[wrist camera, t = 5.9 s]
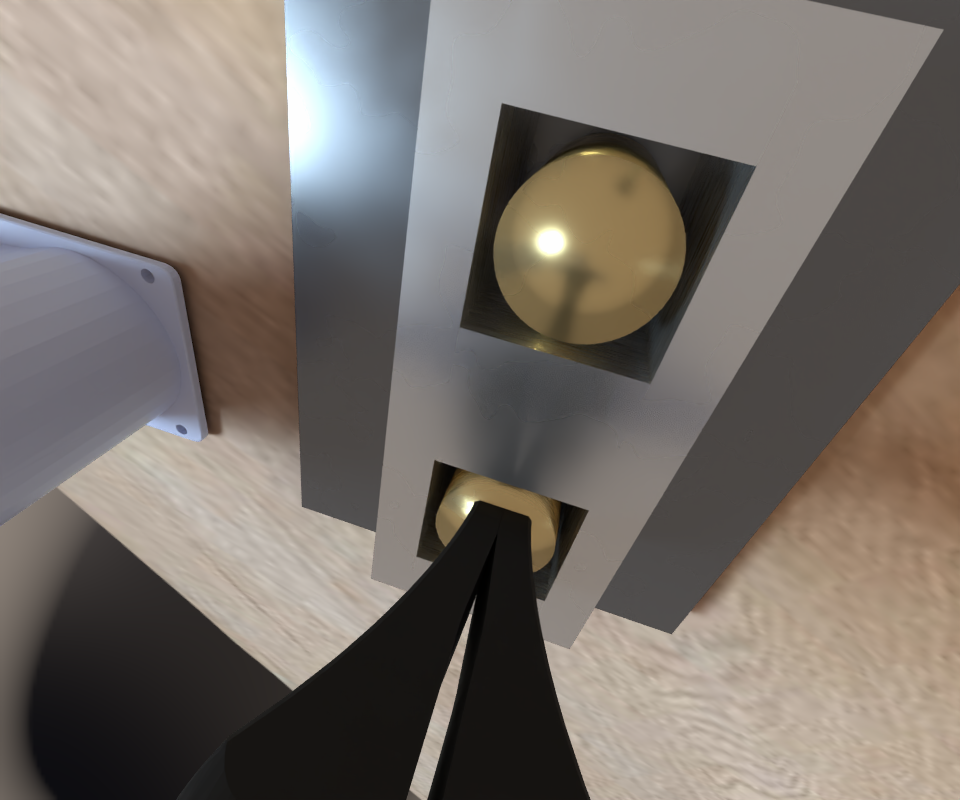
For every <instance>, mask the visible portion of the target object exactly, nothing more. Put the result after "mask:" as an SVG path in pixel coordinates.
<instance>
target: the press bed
mask: <svg viewBox="0 0 960 800" xmlns="http://www.w3.org/2000/svg"><path fill="white" fill-rule="evenodd" d="M808 1H813V2H817V3H822V4H827V5H831V6H836V7H841V8H845V9H850V10H855V11H859V12H864V13H869V14H873V15H878V16H883V17H887V18H892V19H897V20H901V21H906V22H911V23H915V24H920V25H925V26H929V27H934V28H939V29H943V32H942V33H941V35H940V37H939V38H938V40H937V42H936V43H935V45H934V47H933V48H932V50H931V52H930V53H929V55H928V57H927V58H926V60H925V62H924V63H923V65H922V67H921V68H920V70H919V72H918V73H917V75H916V77H915V78H914V80H913V81H912V83H911V85H910V86H909V88H908V90H907V91H906V93H905V95H904V96H903V98H902V100H901V101H900V103H899V105H898V106H897V108H896V110H895V111H894V113H893V115H892V116H891V118H890V120H889V121H888V123H887V125H886V126H885V128H884V129H883V131H882V133H881V134H880V136H879V138H878V139H877V141H876V143H875V144H874V146H873V148H872V149H871V151H870V153H869V154H868V156H867V158H866V159H865V161H864V163H863V164H862V166H861V168H860V169H859V171H858V173H857V174H856V176H855V177H854V179H853V181H852V182H851V184H850V186H849V187H848V189H847V191H846V192H845V194H844V196H843V197H842V199H841V201H840V202H839V204H838V206H837V207H836V209H835V211H834V212H833V214H832V216H831V217H830V219H829V221H828V222H827V224H826V225H825V227H824V229H823V230H822V232H821V234H820V235H819V237H818V239H817V240H816V242H815V244H814V245H813V247H812V249H811V250H810V252H809V254H808V255H807V257H806V259H805V260H804V262H803V264H802V265H801V267H800V269H799V270H798V272H797V273H796V275H795V277H794V278H793V280H792V282H791V283H790V285H789V287H788V288H787V290H786V292H785V293H784V295H783V297H782V298H781V300H780V302H779V303H778V305H777V307H776V308H775V310H774V312H773V313H772V315H771V316H770V318H769V320H768V321H767V323H766V325H765V326H764V328H763V330H762V331H761V333H760V335H759V336H758V338H757V340H756V341H755V343H754V345H753V346H752V348H751V350H750V351H749V353H748V355H747V356H746V358H745V360H744V361H743V363H742V364H741V366H740V368H739V369H738V371H737V373H736V374H735V376H734V378H733V379H732V381H731V383H730V384H729V386H728V388H727V389H726V391H725V393H724V394H723V396H722V398H721V399H720V401H719V403H718V404H717V406H716V408H715V409H714V411H713V412H712V414H711V416H710V417H709V419H708V421H707V422H706V424H705V426H704V427H703V429H702V431H701V432H700V434H699V436H698V437H697V439H696V441H695V442H694V444H693V446H692V447H691V449H690V451H689V452H688V454H687V456H686V457H685V459H684V460H683V462H682V464H681V465H680V467H679V469H678V470H677V472H676V474H675V475H674V477H673V479H672V480H671V482H670V484H669V485H668V487H667V489H666V490H665V492H664V494H663V495H662V497H661V499H660V500H659V502H658V504H657V505H656V507H655V508H654V510H653V512H652V513H651V515H650V517H649V518H648V520H647V522H646V523H645V525H644V527H643V528H642V530H641V532H640V533H639V535H638V537H637V538H636V540H635V542H634V543H633V545H632V547H631V548H630V550H629V552H628V553H627V555H626V556H625V558H624V560H623V561H622V563H621V565H620V566H619V568H618V570H617V571H616V573H615V575H614V576H613V578H612V580H611V581H610V583H609V585H608V586H607V588H606V590H605V591H604V593H603V595H602V596H601V598H600V600H599V601H598V603H597V604H596V606H595V608H597V609H600V610H603V611H606V612H609V613H612V614H615V615H617V616H620V617H623V618H626V619H629V620H632V621H635V622H638V623H641V624H644V625H646V626H649V627H652V628H655V629H658V630H661V631H664V632H667V633H670V634H672V633H673V632H674V631H675V629H676V628H677V627H678V626H679V625H680V623H681V622H682V621H683V620H684V619H685V617H686V616H687V615H688V614H689V612H690V611H691V610H692V609H693V608H694V606H695V605H696V604H697V603H698V602H699V600H700V599H701V598H702V597H703V595H704V594H705V593H706V592H707V591H708V589H709V588H710V587H711V586H712V585H713V583H714V582H715V581H716V580H717V578H718V577H719V576H720V575H721V574H722V572H723V571H724V570H725V569H726V568H727V566H728V565H729V564H730V563H731V561H732V560H733V559H734V558H735V557H736V555H737V554H738V553H739V552H740V550H741V549H742V548H743V547H744V546H745V544H746V543H747V542H748V541H749V540H750V538H751V537H752V536H753V535H754V533H755V532H756V531H757V530H758V529H759V527H760V526H761V525H762V524H763V523H764V521H765V520H766V519H767V518H768V516H769V515H770V514H771V513H772V512H773V510H774V509H775V508H776V507H777V506H778V504H779V503H780V502H781V501H782V499H783V498H784V497H785V496H786V495H787V493H788V492H789V491H790V490H791V489H792V487H793V486H794V485H795V484H796V482H797V481H798V480H799V479H800V478H801V476H802V475H803V474H804V473H805V471H806V470H807V469H808V468H809V467H810V465H811V464H812V463H813V462H814V461H815V459H816V458H817V457H818V456H819V454H820V453H821V452H822V451H823V450H824V448H825V447H826V446H827V445H828V444H829V442H830V441H831V440H832V439H833V437H834V436H835V435H836V434H837V433H838V431H839V430H840V429H841V428H842V427H843V425H844V424H845V423H846V422H847V420H848V419H849V418H850V417H851V416H852V414H853V413H854V412H855V411H856V410H857V408H858V407H859V406H860V405H861V403H862V402H863V401H864V400H865V399H866V397H867V396H868V395H869V394H870V393H871V391H872V390H873V389H874V388H875V386H876V385H877V384H878V383H879V382H880V380H881V379H882V378H883V377H884V375H885V374H886V373H887V372H888V371H889V369H890V368H891V367H892V366H893V365H894V363H895V362H896V361H897V360H898V358H899V357H900V356H901V355H902V354H903V352H904V351H905V350H906V349H907V348H908V346H909V345H910V344H911V343H912V341H913V340H914V339H915V338H916V337H917V335H918V334H919V333H920V332H921V331H922V329H923V328H924V327H925V326H926V324H927V323H928V322H929V321H930V320H931V318H932V317H933V316H934V315H935V314H936V312H937V311H938V310H939V309H940V307H941V306H942V305H943V304H944V303H945V301H946V300H947V299H948V298H949V297H950V295H951V294H952V293H953V292H954V290H955V289H956V288H957V287H958V286H959V284H960V0H808ZM284 2H285V31H286V59H287V88H288V117H289V146H290V174H291V203H292V232H293V261H294V289H295V318H296V347H297V376H298V405H299V433H300V462H301V491H302V507H305V508H308V509H310V510H313V511H316V512H319V513H322V514H325V515H328V516H331V517H334V518H337V519H339V520H342V521H345V522H348V523H351V524H354V525H357V526H360V527H363V528H365V529H368V530H371V531H374V532H376V526H377V517H378V507H379V497H380V488H381V478H382V468H383V459H384V449H385V439H386V430H387V420H388V410H389V401H390V391H391V381H392V372H393V362H394V352H395V343H396V333H397V323H398V314H399V304H400V294H401V285H402V275H403V265H404V256H405V246H406V236H407V227H408V217H409V207H410V198H411V188H412V178H413V169H414V159H415V149H416V140H417V130H418V120H419V111H420V101H421V91H422V82H423V72H424V62H425V53H426V43H427V33H428V24H429V14H430V4H431V0H284ZM598 133H612V134H618V135H622V136H625V137H628V138H630V139H632V140H634V141H636V142H637V143H639V144H640V145H641V146H643V147H644V148H645V149H646V150H647V151H648V152H649V153H650V154H651V156H652V157H653V158H654V160H655V161H656V163H657V165H658V167H659V169H660V171H661V173H662V175H663V177H664V179H665V181H666V183H667V185H668V188H669V190H670V192H671V194H672V196H673V198H674V200H675V202H676V204H677V206H678V208H679V207H680V204H681V202H682V199H683V197H684V195H685V192H686V190H687V187H688V185H689V183H690V180H691V178H692V176H693V173H694V171H695V168H696V166H697V164H698V161H699V159H700V156H701V154H702V153H701V152H697V151H693V150H689V149H684V148H680V147H676V146H672V145H668V144H664V143H660V142H656V141H652V140H648V139H644V138H640V137H636V136H632V135H628V134H624V133H620V132H616V131H612V130H608V129H604V128H600V127H596V126H592V125H588V124H584V123H580V122H576V121H572V120H568V119H564V118H560V117H556V116H552V115H548V114H544V113H541V115H540V119H539V123H538V128H537V132H536V136H535V141H534V145H533V149H532V153H531V158H530V162H529V166H528V171H527V175H526V179H525V182H526V181H527V180H528V179H529V178H530V177H531V176H533V175H534V174H535V173H536V172H537V171H538V170H539V169H540V168H541V167H542V166H543V165H544V164H545V163H546V162H548V161H549V160H550V159H551V158H552V157H553V156H554V155H555V154H556V153H557V152H558V151H559V150H561V149H562V148H563V147H565V146H566V145H567V144H569V143H571V142H572V141H574V140H576V139H579V138H581V137H584V136H587V135H591V134H598Z"/></svg>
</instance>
